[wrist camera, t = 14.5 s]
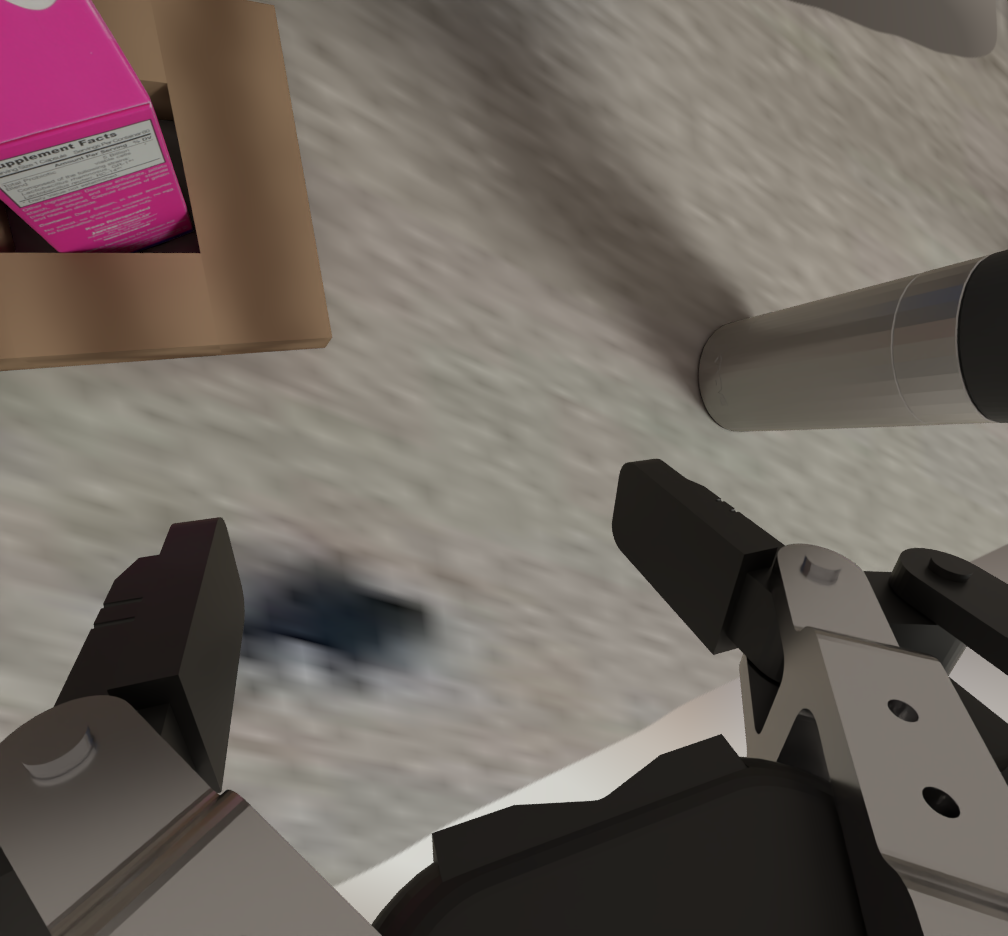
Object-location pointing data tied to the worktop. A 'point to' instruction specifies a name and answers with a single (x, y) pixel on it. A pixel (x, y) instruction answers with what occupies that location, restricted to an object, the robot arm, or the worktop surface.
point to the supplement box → (81, 134)
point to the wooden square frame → (215, 205)
